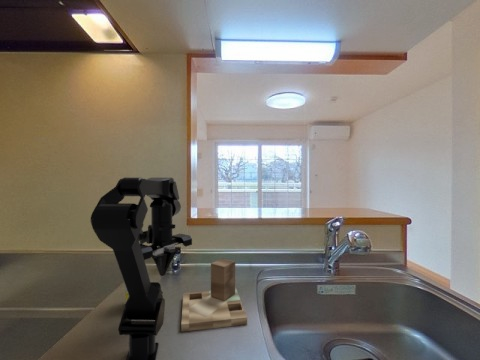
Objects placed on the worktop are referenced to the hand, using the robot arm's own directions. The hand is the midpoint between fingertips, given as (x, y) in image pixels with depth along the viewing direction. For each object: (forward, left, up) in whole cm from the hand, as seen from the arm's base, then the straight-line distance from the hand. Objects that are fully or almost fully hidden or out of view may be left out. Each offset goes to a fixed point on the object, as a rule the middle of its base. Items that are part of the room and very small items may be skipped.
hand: (162, 275), depth 73 cm
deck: (+2, -14, -13) cm, 20 cm away
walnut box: (+7, -18, -11) cm, 23 cm away
